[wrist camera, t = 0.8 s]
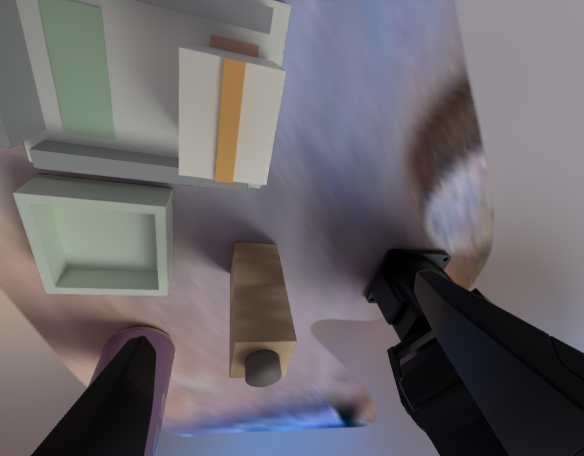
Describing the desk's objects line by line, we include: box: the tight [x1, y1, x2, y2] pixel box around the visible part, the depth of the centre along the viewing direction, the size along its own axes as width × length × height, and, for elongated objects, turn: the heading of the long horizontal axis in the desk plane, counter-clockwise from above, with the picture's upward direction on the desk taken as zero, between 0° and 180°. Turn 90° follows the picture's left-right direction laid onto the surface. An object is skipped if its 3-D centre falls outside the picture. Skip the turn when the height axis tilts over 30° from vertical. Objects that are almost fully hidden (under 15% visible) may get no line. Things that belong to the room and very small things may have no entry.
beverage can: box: [88, 327, 175, 456], centre depth 21 cm, size 6×6×15 cm
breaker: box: [179, 43, 286, 185], centre depth 14 cm, size 4×5×5 cm
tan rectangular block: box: [229, 242, 297, 387], centre depth 20 cm, size 3×3×10 cm
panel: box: [0, 0, 292, 192], centre depth 14 cm, size 13×10×4 cm
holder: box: [13, 174, 173, 296], centre depth 19 cm, size 8×8×2 cm
